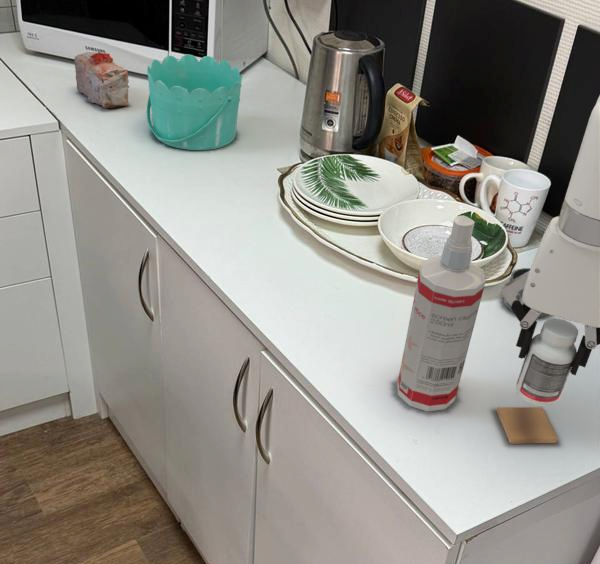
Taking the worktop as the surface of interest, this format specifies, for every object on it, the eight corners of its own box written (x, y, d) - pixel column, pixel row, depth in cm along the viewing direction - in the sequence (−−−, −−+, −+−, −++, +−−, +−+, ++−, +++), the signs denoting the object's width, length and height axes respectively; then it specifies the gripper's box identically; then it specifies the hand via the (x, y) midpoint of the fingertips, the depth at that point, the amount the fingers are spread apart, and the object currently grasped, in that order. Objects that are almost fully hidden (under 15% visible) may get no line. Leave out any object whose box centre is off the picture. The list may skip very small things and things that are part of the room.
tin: (541, 293, 127) (549, 268, 124) (555, 318, 122) (564, 293, 119) (498, 292, 126) (505, 267, 124) (511, 317, 121) (518, 292, 118)
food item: (135, 107, 174) (132, 60, 168) (102, 113, 170) (98, 65, 163) (103, 87, 182) (99, 41, 175) (71, 93, 177) (66, 46, 171)
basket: (256, 144, 164) (259, 79, 155) (176, 160, 155) (174, 92, 147) (210, 111, 175) (210, 49, 167) (133, 124, 167) (129, 60, 158)
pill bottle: (566, 405, 97) (593, 340, 91) (526, 409, 96) (550, 343, 89) (547, 377, 101) (570, 313, 95) (507, 380, 100) (529, 315, 93)
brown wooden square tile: (540, 411, 105) (542, 407, 104) (556, 443, 100) (558, 438, 99) (496, 411, 104) (497, 407, 103) (509, 443, 99) (511, 439, 99)
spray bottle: (466, 400, 105) (513, 228, 89) (423, 418, 102) (463, 242, 86) (428, 367, 110) (466, 199, 94) (385, 383, 107) (416, 211, 91)
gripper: (684, 228, 84) (626, 366, 95) (523, 187, 88) (486, 323, 100) (678, 260, 78) (618, 401, 90) (507, 214, 83) (470, 354, 95)
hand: (549, 359), depth 95 cm, fingers closed on pill bottle, 5 cm apart
